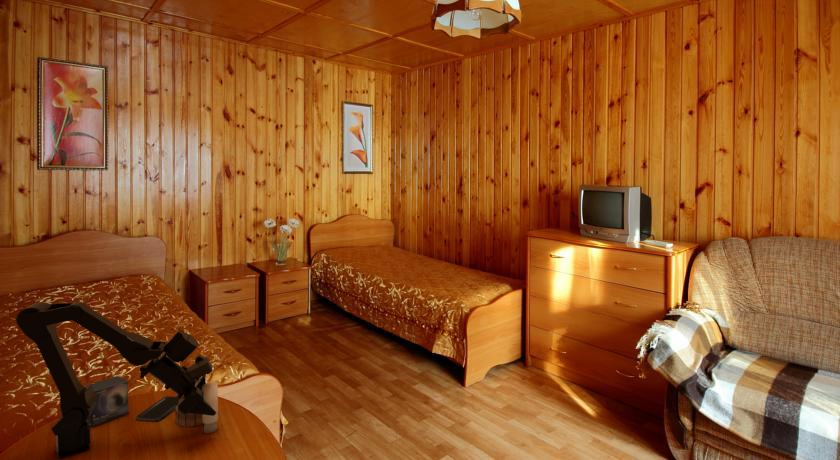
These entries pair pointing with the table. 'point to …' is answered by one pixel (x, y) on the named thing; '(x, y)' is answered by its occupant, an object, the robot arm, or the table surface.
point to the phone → (159, 410)
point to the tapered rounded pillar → (212, 400)
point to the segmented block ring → (187, 418)
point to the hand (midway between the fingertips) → (215, 407)
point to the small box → (109, 400)
